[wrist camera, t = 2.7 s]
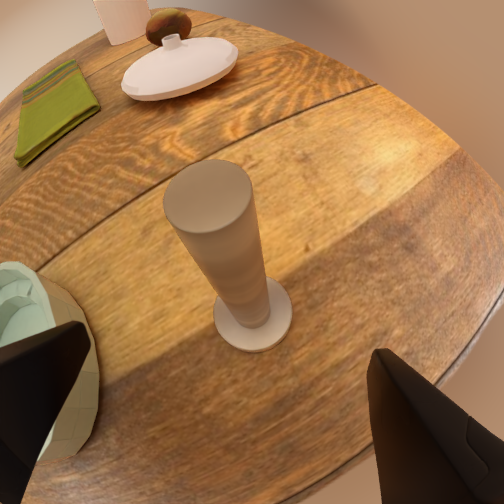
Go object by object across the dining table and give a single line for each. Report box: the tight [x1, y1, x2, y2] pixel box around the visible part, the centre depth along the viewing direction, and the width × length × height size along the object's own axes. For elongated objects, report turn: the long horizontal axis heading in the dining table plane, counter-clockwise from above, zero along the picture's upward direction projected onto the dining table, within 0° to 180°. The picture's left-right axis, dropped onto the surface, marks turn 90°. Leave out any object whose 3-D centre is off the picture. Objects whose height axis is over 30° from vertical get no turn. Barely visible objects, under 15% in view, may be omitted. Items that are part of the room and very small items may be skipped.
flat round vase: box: [121, 34, 238, 101], centre depth 29 cm, size 16×16×7 cm
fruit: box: [146, 8, 192, 46], centre depth 36 cm, size 8×8×8 cm
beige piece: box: [163, 160, 292, 353], centre depth 12 cm, size 5×5×13 cm
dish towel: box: [14, 59, 100, 168], centre depth 36 cm, size 15×36×3 cm, turn 37°
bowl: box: [0, 262, 99, 466], centre depth 15 cm, size 16×16×5 cm
